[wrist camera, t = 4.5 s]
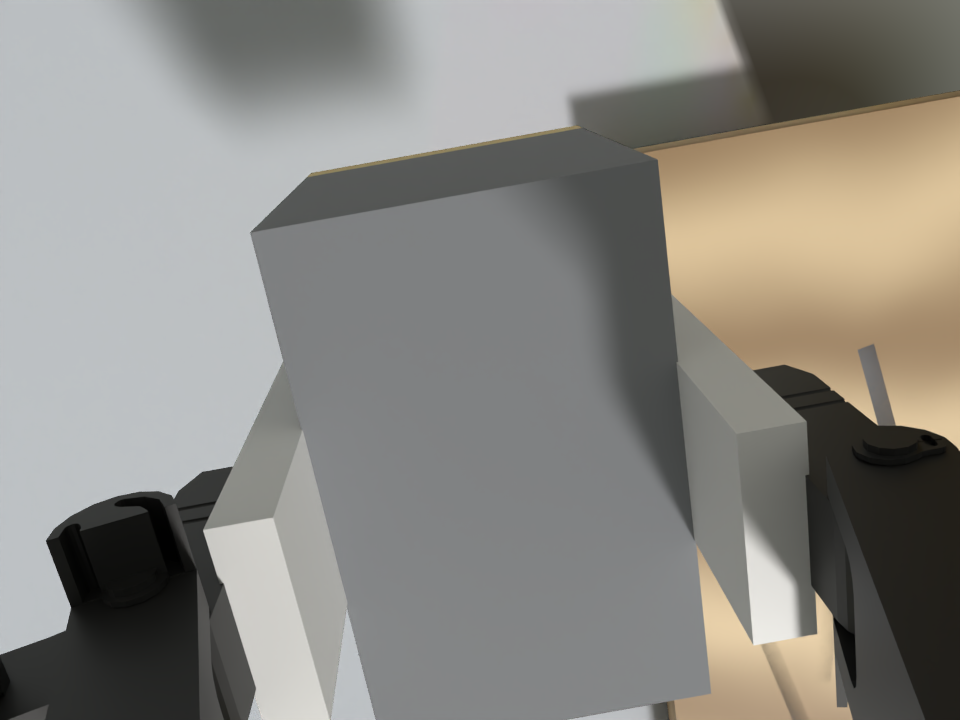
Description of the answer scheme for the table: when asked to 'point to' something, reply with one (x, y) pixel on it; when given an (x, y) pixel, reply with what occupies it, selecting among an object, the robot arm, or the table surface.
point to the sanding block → (496, 424)
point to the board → (819, 314)
